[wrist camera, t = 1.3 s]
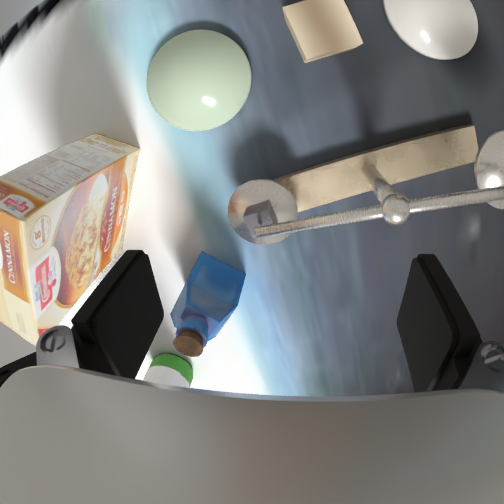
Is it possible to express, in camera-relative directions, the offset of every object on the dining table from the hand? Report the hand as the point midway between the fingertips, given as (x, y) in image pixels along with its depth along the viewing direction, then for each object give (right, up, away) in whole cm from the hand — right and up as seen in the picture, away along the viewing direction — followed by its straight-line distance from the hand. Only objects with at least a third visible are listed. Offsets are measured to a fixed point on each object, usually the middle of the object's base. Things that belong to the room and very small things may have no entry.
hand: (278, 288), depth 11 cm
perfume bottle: (-6, -2, +31) cm, 31 cm away
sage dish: (-6, +19, +18) cm, 27 cm away
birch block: (+6, +22, +14) cm, 27 cm away
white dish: (+17, +26, +10) cm, 33 cm away
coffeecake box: (-19, +9, +26) cm, 34 cm away
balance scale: (+11, +10, +20) cm, 25 cm away
